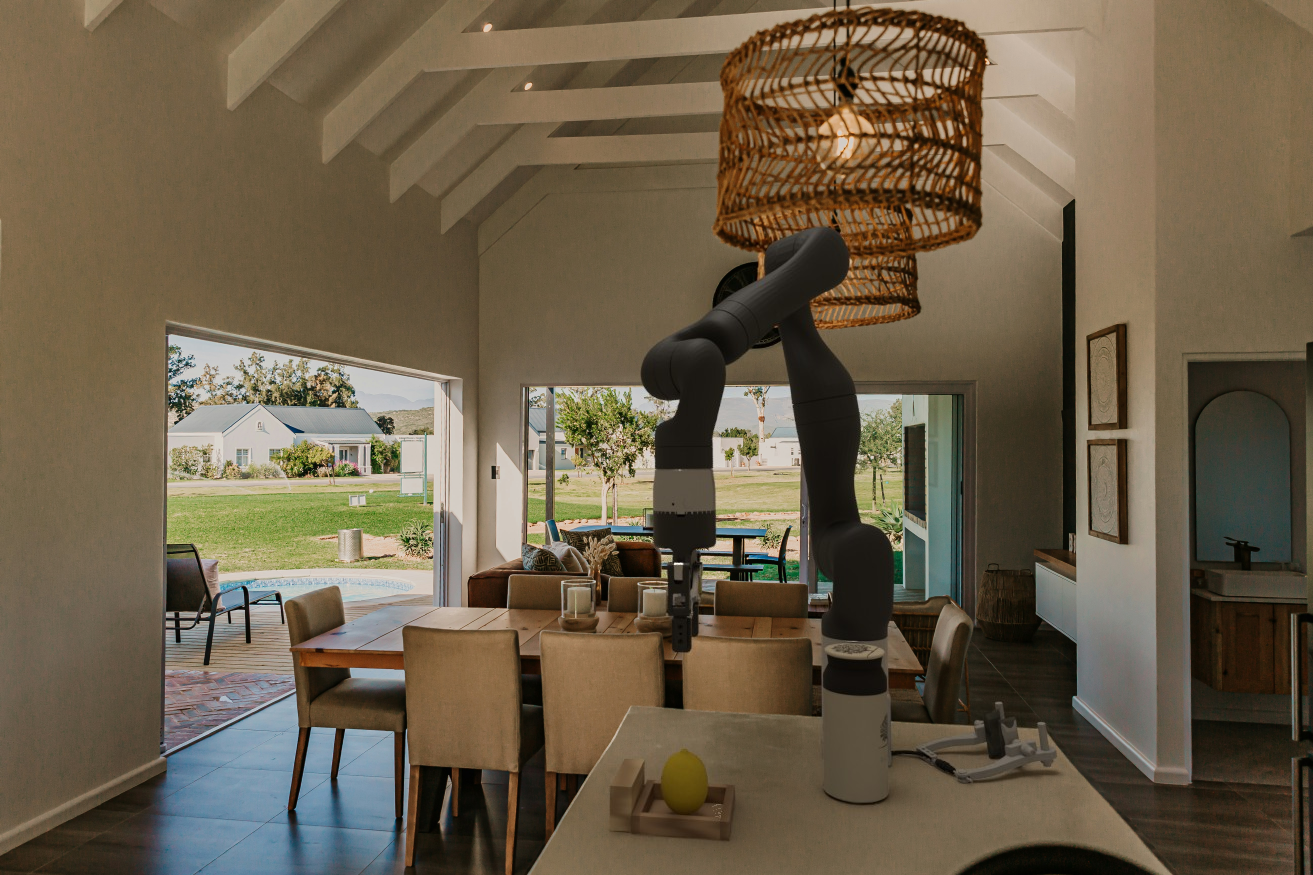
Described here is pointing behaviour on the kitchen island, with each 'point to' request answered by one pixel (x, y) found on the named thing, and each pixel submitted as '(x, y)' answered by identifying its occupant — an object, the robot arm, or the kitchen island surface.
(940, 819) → the kitchen island surface
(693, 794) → the lemon
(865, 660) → the travel mug
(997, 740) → the bike brake
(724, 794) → the walnut tray
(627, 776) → the oak stop
